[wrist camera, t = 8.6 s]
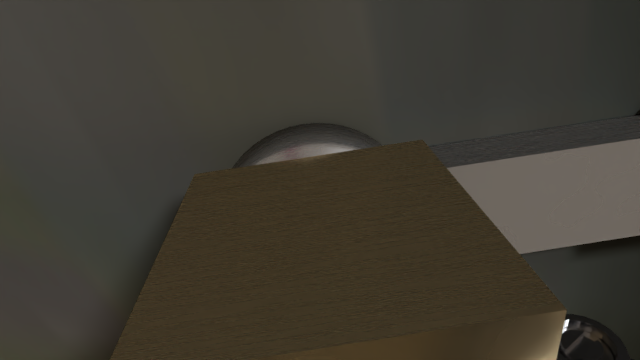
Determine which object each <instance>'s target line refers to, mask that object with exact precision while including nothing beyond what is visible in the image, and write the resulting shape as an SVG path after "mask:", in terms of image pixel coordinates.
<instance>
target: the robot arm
mask: <svg viewBox="0 0 640 360" xmlns="http://www.w3.org/2000/svg"><path fill="white" fill-rule="evenodd" d="M556 360H633V359H631V358H630V356H629V354H628V351H627V349H626V347H625V346H624V344H623V342H622V341H621V339H620V338H619V337H618V336H617V335H616V334H615V333H614V332H613V331H612V330H610V329H609V328H607V327H606V326H604V325H603V324H601V323H599V322H597V321H595V320H592V319H590V318H587V317H584V316H579V315H574V314H566V316H565V321H564V326H563V330H562V335H561V340H560V344H559V349H558V354H557V359H556Z"/></svg>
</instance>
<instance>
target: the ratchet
mask: <svg viewBox="0 0 640 360" xmlns="http://www.w3.org/2000/svg"><path fill="white" fill-rule="evenodd" d="M377 146H382V145H381V144H379V143H378V142H377V141H376V140H374V139H372V138H371V137H369V136H368V135H366V134H364V133H361V132H359V131H357V130H355V129H351V128H348V127H345V126H341V125H335V124H326V123H311V124H301V125H297V126H292V127H288V128H285V129H282V130H280V131H277V132H275V133H273V134H271V135H269V136H267V137H265V138H263V139H262V140H260V141H259V142H257V143H256V144H254V145H253V146H252V147H251V148H250V149H248V150H247V151H246V152H245V153H244V154H243V155H242V156H241V158H240V159H239V160H238V161H237V162H236V164H235V165H234V167H233V168H239V167H246V166H252V165H259V164H265V163H272V162H278V161H285V160H292V159H298V158H305V157H311V156H318V155H325V154H331V153H338V152H344V151H351V150H358V149H364V148H371V147H377ZM429 148H430V149H431V150H432V151H433V153H434V154H435V155H436V156H437V157H438V159H439V160H440V161H441V162H442V163H443V164H444V166H445V167H446V168H447V169H448V170H449V171H450V173H451V174H452V175H453V176H454V177H455V179H456V180H457V181H458V182H459V183H460V184H461V186H462V187H463V188H464V189H465V190H466V192H467V193H468V194H469V195H470V196H471V197H472V199H473V200H474V201H475V202H476V203H477V204H478V206H479V207H480V208H481V209H482V210H483V212H484V213H485V214H486V215H487V216H488V217H489V219H490V220H491V221H492V222H493V223H494V225H495V226H496V227H497V228H498V229H499V230H500V232H501V233H502V234H503V235H504V236H505V237H506V239H507V240H508V241H509V242H510V243H511V245H512V246H513V247H514V248H515V249H516V250H517V252H518V253H519V254H523V253H529V252H536V251H542V250H549V249H555V248H561V247H568V246H574V245H581V244H587V243H594V242H600V241H606V240H613V239H619V238H626V237H632V236H639V235H640V115H636V116H630V117H623V118H616V119H610V120H603V121H597V122H590V123H583V124H577V125H570V126H564V127H557V128H551V129H544V130H537V131H531V132H524V133H518V134H511V135H505V136H498V137H491V138H485V139H478V140H472V141H465V142H458V143H452V144H445V145H439V146H432V147H429Z"/></svg>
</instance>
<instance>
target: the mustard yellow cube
mask: <svg viewBox="0 0 640 360" xmlns="http://www.w3.org/2000/svg"><path fill="white" fill-rule="evenodd" d="M566 311H567V309H566V308H565V307H564V306H563V305H562V304H561V302H560V301H559V300H558V299H557V298H556V296H555V295H554V294H553V293H552V292H551V291H550V289H549V288H548V287H547V286H546V285H545V283H544V282H543V281H542V280H541V279H540V278H539V276H538V275H537V274H536V273H535V272H534V271H533V269H532V268H531V267H530V266H529V265H528V263H527V262H526V261H525V260H524V259H523V258H522V256H521V255H520V254H519V253H518V252H517V250H516V249H515V248H514V247H513V246H512V245H511V243H510V242H509V241H508V240H507V239H506V237H505V236H504V235H503V234H502V233H501V232H500V230H499V229H498V228H497V227H496V226H495V225H494V223H493V222H492V221H491V220H490V219H489V217H488V216H487V215H486V214H485V213H484V212H483V210H482V209H481V208H480V207H479V206H478V204H477V203H476V202H475V201H474V200H473V199H472V197H471V196H470V195H469V194H468V193H467V192H466V190H465V189H464V188H463V187H462V186H461V184H460V183H459V182H458V181H457V180H456V179H455V177H454V176H453V175H452V174H451V173H450V171H449V170H448V169H447V168H446V167H445V166H444V164H443V163H442V162H441V161H440V160H439V159H438V157H437V156H436V155H435V154H434V153H433V151H432V150H431V149H430V148H429V147H428V146H427V144H426V143H425V142H424V141H423V140H417V141H410V142H404V143H397V144H391V145H384V146H377V147H371V148H364V149H358V150H351V151H344V152H338V153H331V154H325V155H318V156H311V157H305V158H298V159H292V160H285V161H278V162H272V163H265V164H259V165H252V166H246V167H239V168H232V169H226V170H219V171H213V172H206V173H199V174H195V175H194V177H193V179H192V181H191V183H190V186H189V188H188V190H187V192H186V194H185V197H184V199H183V201H182V203H181V205H180V208H179V210H178V212H177V214H176V216H175V218H174V221H173V223H172V225H171V227H170V229H169V232H168V234H167V236H166V238H165V240H164V242H163V245H162V247H161V249H160V251H159V253H158V256H157V258H156V260H155V262H154V264H153V267H152V269H151V271H150V273H149V275H148V277H147V280H146V282H145V284H144V286H143V288H142V291H141V293H140V295H139V297H138V299H137V301H136V304H135V306H134V308H133V310H132V312H131V315H130V317H129V319H128V321H127V323H126V325H125V328H124V330H123V332H122V334H121V336H120V339H119V341H118V343H117V345H116V347H115V350H114V352H113V354H112V356H111V358H110V360H556V359H557V354H558V349H559V344H560V340H561V335H562V330H563V326H564V321H565V316H566Z"/></svg>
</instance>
